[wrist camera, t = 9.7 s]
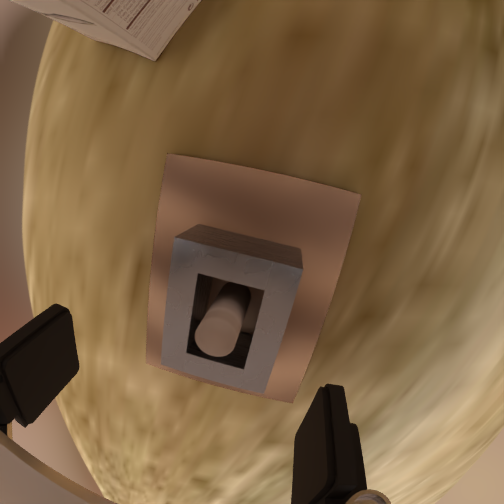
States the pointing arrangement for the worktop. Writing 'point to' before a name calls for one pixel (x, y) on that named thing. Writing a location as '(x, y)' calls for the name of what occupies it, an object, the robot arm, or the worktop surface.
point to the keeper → (260, 226)
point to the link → (197, 295)
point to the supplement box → (120, 20)
